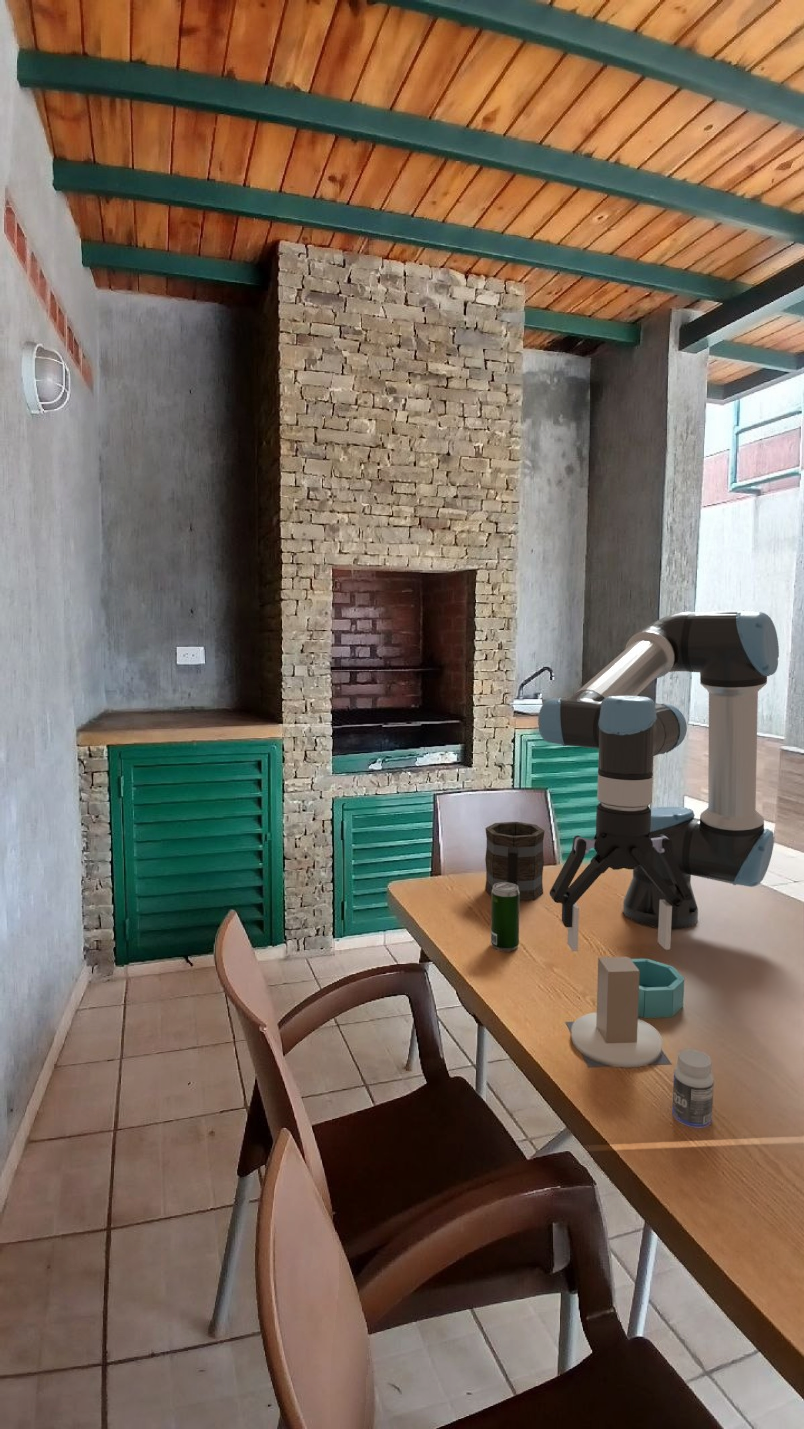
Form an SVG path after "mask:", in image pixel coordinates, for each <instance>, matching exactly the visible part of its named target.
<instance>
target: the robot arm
mask: <svg viewBox="0 0 804 1429" xmlns="http://www.w3.org/2000/svg"><path fill="white" fill-rule="evenodd" d="M779 648H780V647H779V637H778V634H777V629H776V627H775V624H774V622H773V620H772V618H771V617H770V616H769V615H768V614H766V613H765V612H762V611H752V610H751V611H750V610H749V611H748V610H719V611H716V610H715V611H683V612H682V611H681V612H677V613H673V614H670V615H667V616H664V617H661V618H660V619H657V620H656V621H654V622H651V623H649V624H648V625H646V626H644V627H642V628H641V629H640V630H638V631H637V632H636V633H635V634H633V635H632V636H631V637H630V638H629V640H628V641H627V642H626V645H625V648H624V650H623V651H621V653H620V654H618V655H617V656H616V657H615V658H614V659H612V661H611V662H609V663H608V664H607V665H606V666H605V667H604V668H602V669H601V670H600V671H599V672H597V674H596V675H594V676H593V677H592V678H591V679H590V680H589V681H587V682H586V683H585V684H584V685H583V686H582V687H581V688H580V689H578V690H577V691H576V692H575V693H574V694H573V695H571V696H570V697H569V698H563V697H559V698H548V699H547V700H545V701H544V702H543V704H542V705H541V707H540V709H539V711H538V712H539V713H538V719H537V725H538V732H539V734H540V737H541V738H542V739H543V740H544V741H545V742H547V743H551V744H556V745H561V746H562V747H566V746H568V747H569V746H570V747H580V748H590V749H597V750H598V767H597V794H596V799H597V801H598V802H599V803H598V804H597V805H596V816H595V817H596V818H595V835H594V837H593V838H585V837H582V836H580V835H575V836H574V837H573V840H572V847H571V851H570V853H569V855H568V856H567V859H566V860H565V862H564V864H563V866H562V867H561V869H560V871H559V873H558V875H557V877H556V879H555V881H554V883H553V884H552V886H551V888H550V890H549V896H550V898H551V899H552V900H553V901H554V902H555V903H556V904H561V923H562V924H563V926H564V927H565V928H567V941H566V942H567V945H568V947H569V948H570V949H571V951H572V952H578V950H579V925H580V924H579V918H580V917H579V916H580V907H579V905H577V902H578V901H579V900H580V898H581V897H582V896H584V894H585V893H586V892H587V890H588V889H589V888H590V887H591V886H593V884H594V883H595V881H596V880H598V879H599V877H600V876H601V875H602V874H604V873H606V871H607V870H608V869H609V868H611V869H612V871H615V870H617V871H618V870H622V869H625V870H632V879H631V881H630V884H629V886H628V889H627V892H626V894H625V897H624V899H623V905H622V907H623V908H622V912H623V914H624V916H625V917H626V918H628V919H629V920H631V921H633V922H634V923H637V924H640V925H643V926H647V927H651V928H657V929H658V931H657V943H659V945H660V946H661V947H662V948H663V949H664V950H671V936H672V930H673V929H676V930H677V929H686V928H690V927H692V926H694V925H696V924H697V923H698V920H699V918H698V916H699V908H698V904H697V901H696V898H695V894H694V891H693V887H692V885H691V884H692V883H691V879H692V878H691V877H692V876H694V877H698V878H702V879H703V878H704V879H707V880H708V879H709V880H712V881H717V882H721V883H727V884H732V885H733V886H744V887H750V888H753V887H756V886H758V885H760V884H761V882H762V881H763V880H764V878H765V876H766V874H767V871H768V869H769V866H770V862H771V859H772V854H773V850H774V846H775V845H774V844H775V834H774V832H773V830H770V829H768V828H765V818H764V816H763V815H761V813H759V812H758V811H757V810H756V806H757V804H756V803H757V800H756V798H757V762H758V761H757V756H758V755H757V754H758V751H757V749H758V709H759V708H758V707H759V704H758V701H759V700H758V699H759V691H760V690H762V688H764V687H765V686H766V685H767V684H768V677H770V676H773V675H775V673H776V672H777V669H778V666H779V657H780V655H779V654H780V652H779V651H780V649H779ZM670 672H671V673H672V672H689V673H699V676H700V677H699V679H700V685H701V686H702V687H703V688H705V690H706V691H707V692H708V778H707V779H708V788H707V789H708V792H707V793H708V797H707V798H708V801H707V803H708V807H706V809H705V810H703V811H702V812H701V813H700V815H699V816H700V817H699V818H695V813H694V811H693V809H692V808H688V807H684V806H659V807H652V808H650V805H652V803H653V802H652V801H653V776H654V774H653V773H654V772H653V771H654V759H655V758H654V757H655V756H658V755H664V754H666V753H669V752H672V751H673V750H674V749H675V748H677V747H678V746H680V745H681V744H682V743H683V741H684V740H685V738H686V735H687V731H688V726H687V720H686V718H685V716H684V714H683V713H682V711H680V710H679V708H677V707H676V706H674V705H671V704H668V703H657V702H656V703H655V701H654V700H653V699H652V698H651V697H647V696H639V694H640V693H642V692H643V691H644V690H645V688H647V686H649V685H650V683H651V682H652V681H654V679H659V678H661V677H664V676H666V675H667V674H668V673H670ZM591 849H594V851H595V852H596V853H595V855H594V856H593V857H592V858H591V859H590V862H589V864H587V866H586V867H585V869H583V871H582V872H581V873H580V874H579V875H578V876H577V878H576V879H574V878H575V876H576V874H577V873H578V870H579V869H580V867H581V865H582V863H583V861H584V859H585V856H586V855H587V854H589V852H590V850H591ZM573 879H574V881H573ZM572 881H573V882H572Z"/></svg>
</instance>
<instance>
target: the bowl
mask: <svg viewBox="0 0 804 1429" xmlns="http://www.w3.org/2000/svg"><path fill="white" fill-rule="evenodd" d="M630 959H631V961H632V962H633V963H634V964H635V966H636V967H637V968H638V969H639V971H640V975H639V1002H638V1017H640V1018H644V1019H650V1018H652V1019H654V1018H655V1019H656V1018H672V1017H674V1015H676V1014H677V1013H678V1012H679V1011H680V1010H681V1009H682V1008H683V1007H684V999H685V998H684V996H685V995H684V994H685V993H684V992H685V978H684V977H683V976H682V975H681V974H680V973H679V971H677V969H676V968H675V967H674V966H672V965H670V964H666V963H663V962H659V961H655V960H653V959H649V958H630Z"/></svg>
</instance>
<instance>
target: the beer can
mask: <svg viewBox="0 0 804 1429" xmlns="http://www.w3.org/2000/svg"><path fill="white" fill-rule="evenodd" d="M490 898H491V900H490V901H491V903H490V906H491V908H490V909H491V910H490V912H491V913H490V919H491V920H490V944H491V946H492V948H493V949H495V950H497V951H499V952H513V951H515V950H517V948H518V946H519V945H520V944H519V943H520V902H519V898H520V892H519V890H518V886H517V885H516V884H513V883H507V882H501V883H496V884H494V885H493V889H492V894H491V896H490Z"/></svg>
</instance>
